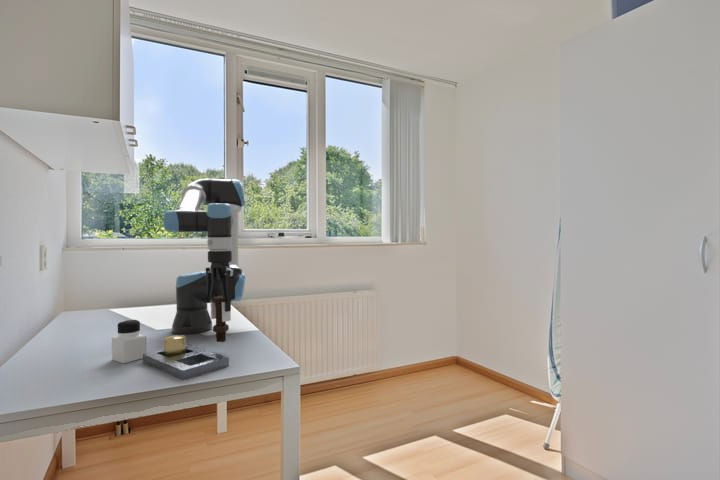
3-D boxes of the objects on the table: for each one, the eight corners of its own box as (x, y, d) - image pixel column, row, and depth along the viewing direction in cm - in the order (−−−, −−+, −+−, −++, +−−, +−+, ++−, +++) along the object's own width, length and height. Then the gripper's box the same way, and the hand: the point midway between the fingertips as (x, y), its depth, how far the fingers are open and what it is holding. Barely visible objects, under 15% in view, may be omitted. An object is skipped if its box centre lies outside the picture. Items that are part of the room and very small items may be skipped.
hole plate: (142, 362, 121) (142, 339, 121) (186, 351, 132) (186, 330, 132) (183, 379, 106) (182, 353, 106) (228, 365, 117) (228, 342, 117)
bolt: (223, 344, 129) (222, 298, 129) (209, 343, 130) (208, 298, 130) (232, 339, 135) (231, 295, 134) (218, 338, 136) (218, 295, 136)
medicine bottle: (146, 357, 126) (146, 320, 126) (123, 364, 120) (122, 324, 120) (135, 354, 130) (134, 317, 130) (111, 360, 124) (111, 321, 124)
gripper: (194, 249, 135) (195, 317, 135) (226, 251, 123) (227, 326, 124) (214, 248, 140) (215, 313, 141) (246, 250, 129) (247, 321, 130)
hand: (220, 319), depth 132 cm, fingers closed on bolt, 6 cm apart
